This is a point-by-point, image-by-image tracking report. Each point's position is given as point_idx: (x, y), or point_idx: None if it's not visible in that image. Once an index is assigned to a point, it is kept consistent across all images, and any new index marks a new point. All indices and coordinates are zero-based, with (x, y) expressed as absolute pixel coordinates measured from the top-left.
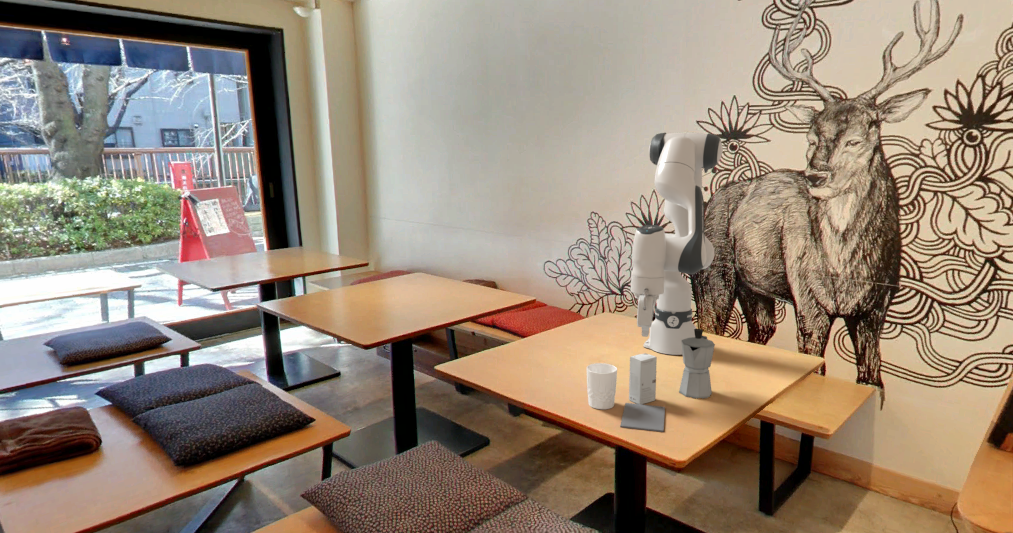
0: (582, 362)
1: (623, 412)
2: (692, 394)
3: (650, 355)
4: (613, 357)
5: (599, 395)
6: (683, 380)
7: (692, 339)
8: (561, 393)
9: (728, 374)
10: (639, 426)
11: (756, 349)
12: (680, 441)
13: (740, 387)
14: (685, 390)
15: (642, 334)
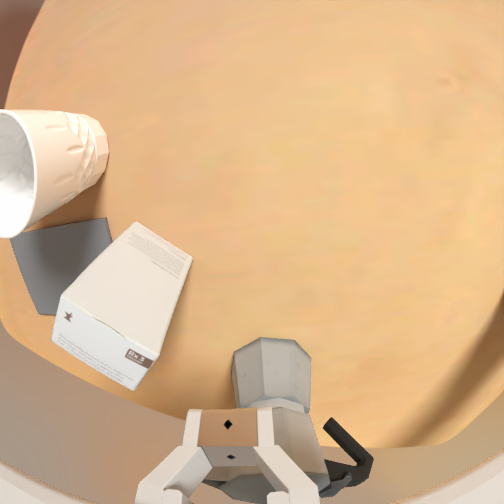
0: (430, 22)
1: (53, 227)
2: (233, 369)
3: (131, 374)
4: (495, 124)
5: (22, 169)
6: (254, 372)
7: (264, 496)
8: (115, 17)
9: (397, 395)
10: (24, 272)
11: (496, 390)
12: (34, 334)
13: (327, 418)
14: (240, 360)
15: (187, 419)
